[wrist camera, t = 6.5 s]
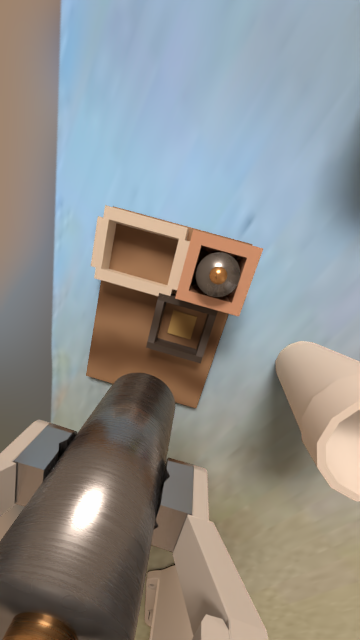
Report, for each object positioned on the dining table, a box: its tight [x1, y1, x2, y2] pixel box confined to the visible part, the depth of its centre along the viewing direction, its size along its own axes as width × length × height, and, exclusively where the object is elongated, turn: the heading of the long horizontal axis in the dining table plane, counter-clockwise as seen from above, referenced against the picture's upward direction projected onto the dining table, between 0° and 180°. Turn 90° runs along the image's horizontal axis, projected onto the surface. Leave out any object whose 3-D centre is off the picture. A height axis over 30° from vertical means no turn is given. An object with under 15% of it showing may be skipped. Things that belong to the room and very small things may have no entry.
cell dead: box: [196, 252, 240, 297], centre depth 20 cm, size 4×4×8 cm
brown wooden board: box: [86, 206, 252, 408], centre depth 25 cm, size 22×16×3 cm
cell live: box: [0, 372, 175, 640], centre depth 7 cm, size 4×4×8 cm
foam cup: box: [275, 341, 360, 501], centre depth 20 cm, size 10×9×13 cm
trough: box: [91, 205, 190, 298], centre depth 23 cm, size 8×10×2 cm
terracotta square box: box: [175, 230, 263, 316], centre depth 21 cm, size 6×6×6 cm
